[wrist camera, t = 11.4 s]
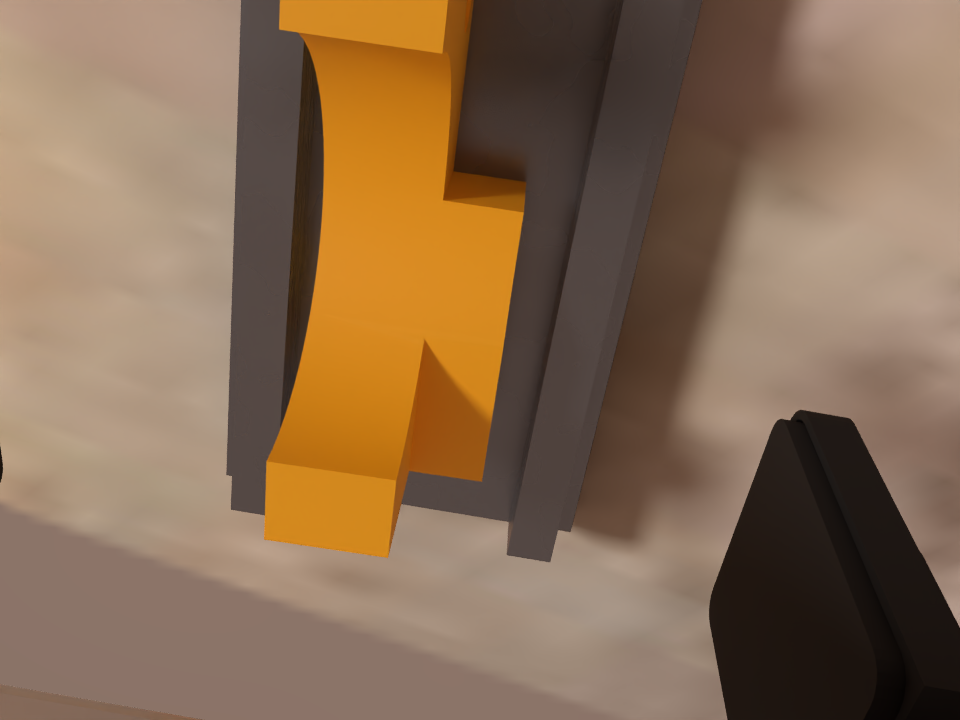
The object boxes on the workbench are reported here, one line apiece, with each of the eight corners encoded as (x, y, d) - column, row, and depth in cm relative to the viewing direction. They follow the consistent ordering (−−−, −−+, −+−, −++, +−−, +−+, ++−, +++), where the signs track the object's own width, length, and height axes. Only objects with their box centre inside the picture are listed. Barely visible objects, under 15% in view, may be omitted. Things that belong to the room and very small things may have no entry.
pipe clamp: (489, 413, 24) (471, 570, 19) (330, 390, 24) (264, 539, 19) (566, -74, 19) (575, -66, 13) (362, -104, 19) (282, -109, 13)
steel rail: (739, -186, 19) (766, -199, 17) (569, 511, 27) (572, 565, 25) (264, -269, 19) (225, -293, 16) (237, 456, 27) (209, 506, 25)
